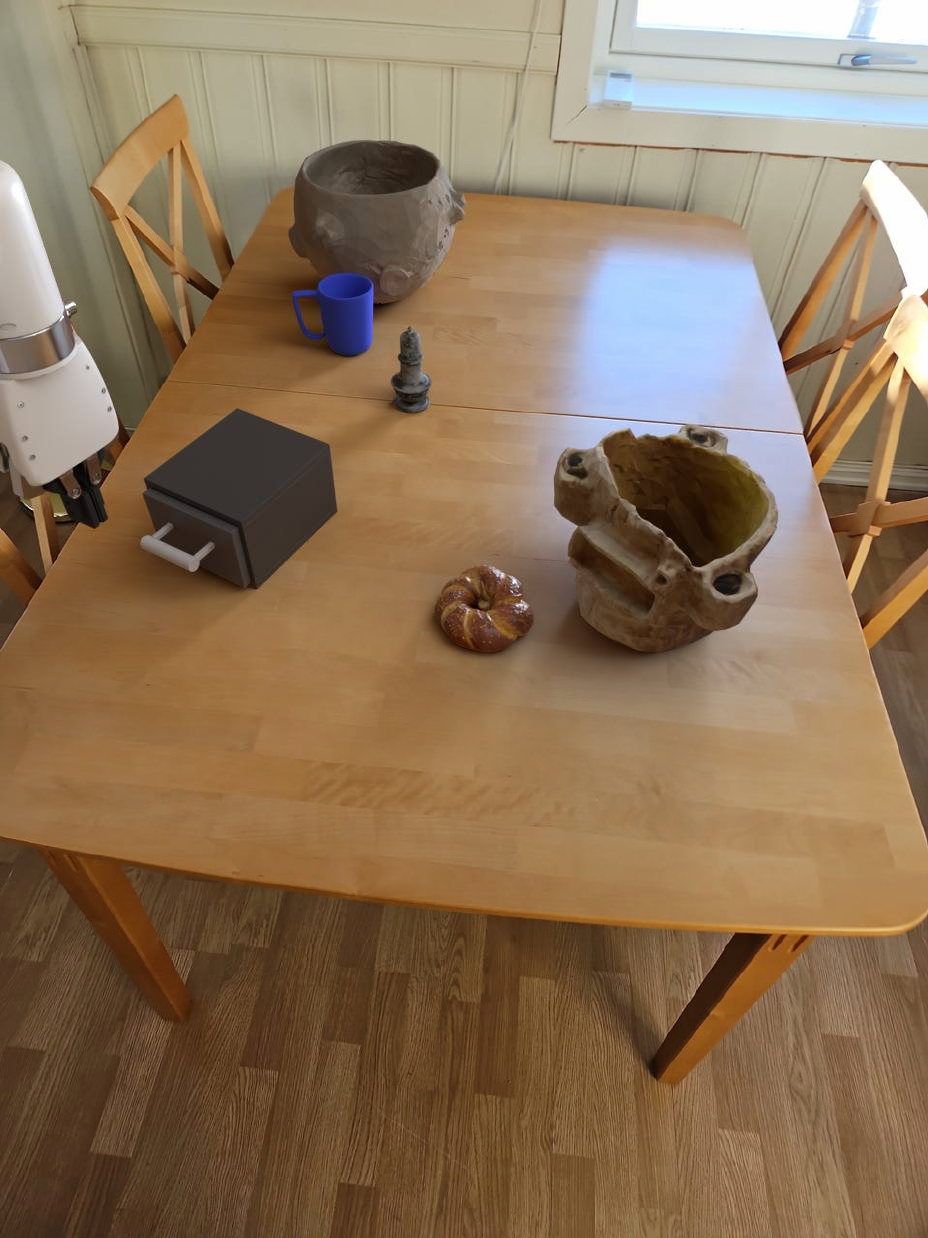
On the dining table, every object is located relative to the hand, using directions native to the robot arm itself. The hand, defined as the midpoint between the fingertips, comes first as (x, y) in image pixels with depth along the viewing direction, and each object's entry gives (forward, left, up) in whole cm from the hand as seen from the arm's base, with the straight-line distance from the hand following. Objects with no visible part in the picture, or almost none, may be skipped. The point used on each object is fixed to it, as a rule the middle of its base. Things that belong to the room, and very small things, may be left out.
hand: (90, 519), depth 77 cm
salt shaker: (+42, +31, -17) cm, 55 cm away
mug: (+36, +49, -17) cm, 64 cm away
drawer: (+12, +10, -16) cm, 22 cm away
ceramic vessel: (+54, -18, -17) cm, 59 cm away
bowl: (+48, +65, -17) cm, 83 cm away
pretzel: (+36, -11, -17) cm, 41 cm away
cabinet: (+15, +12, -17) cm, 26 cm away
